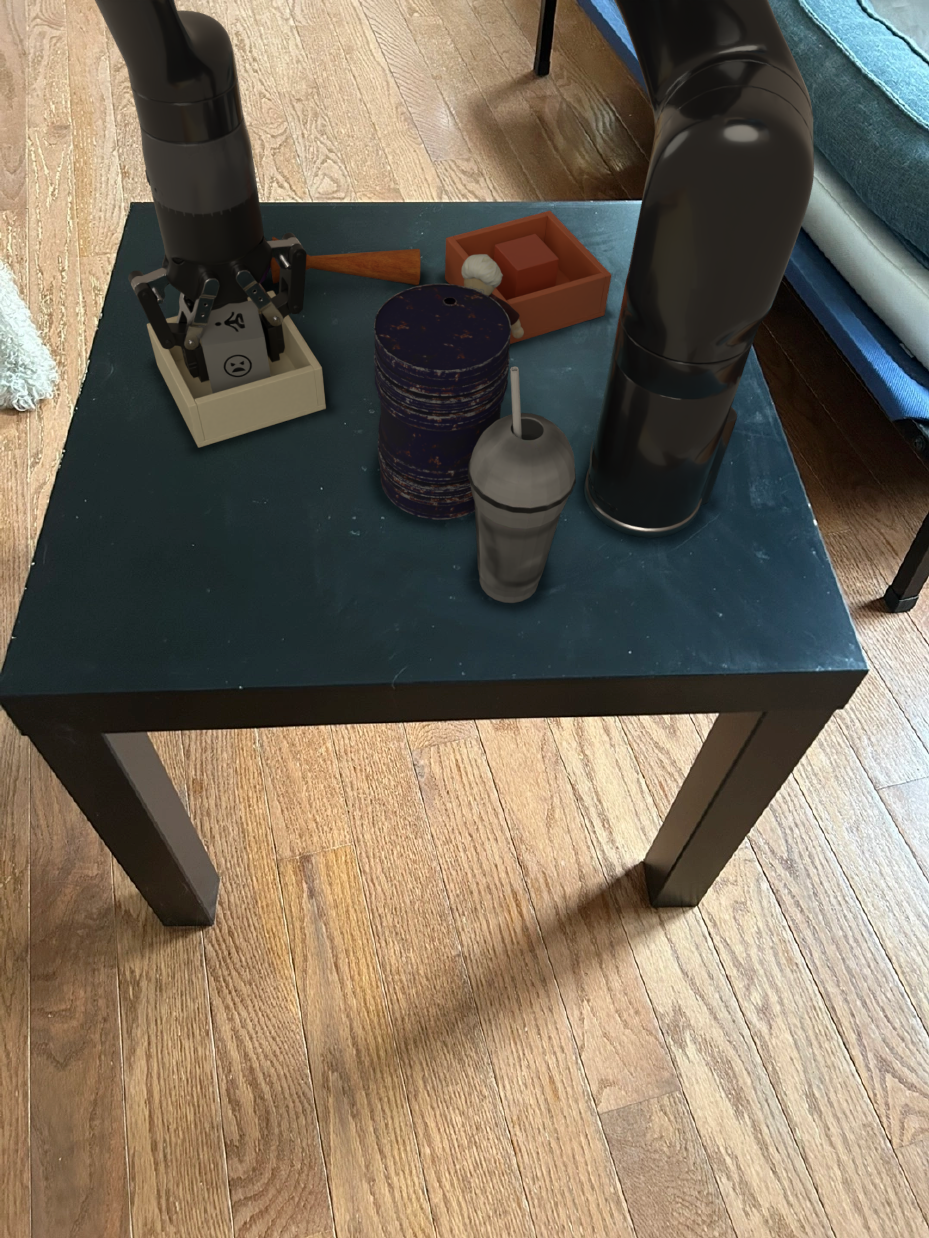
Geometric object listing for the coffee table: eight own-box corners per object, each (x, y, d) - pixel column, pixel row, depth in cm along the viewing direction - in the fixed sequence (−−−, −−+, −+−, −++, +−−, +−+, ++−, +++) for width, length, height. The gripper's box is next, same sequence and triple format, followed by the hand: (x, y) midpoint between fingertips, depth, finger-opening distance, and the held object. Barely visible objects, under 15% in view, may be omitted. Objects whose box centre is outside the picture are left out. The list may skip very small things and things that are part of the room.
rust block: (531, 273, 98) (535, 233, 94) (553, 299, 96) (559, 258, 92) (491, 285, 97) (494, 244, 93) (513, 311, 94) (517, 270, 91)
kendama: (423, 267, 92) (200, 257, 89) (417, 313, 97) (206, 304, 94) (419, 220, 94) (203, 208, 91) (414, 267, 100) (209, 257, 97)
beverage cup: (548, 626, 73) (586, 423, 57) (452, 607, 74) (462, 402, 58) (563, 552, 78) (601, 343, 61) (471, 535, 78) (485, 324, 62)
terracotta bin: (545, 251, 101) (550, 210, 97) (604, 315, 95) (612, 274, 92) (444, 278, 98) (445, 237, 94) (499, 347, 92) (503, 306, 88)
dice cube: (271, 385, 85) (264, 337, 81) (212, 394, 84) (202, 346, 80) (262, 348, 88) (255, 300, 84) (205, 356, 87) (194, 308, 83)
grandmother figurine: (431, 396, 88) (433, 270, 77) (431, 367, 90) (433, 241, 80) (518, 397, 88) (532, 273, 78) (516, 368, 90) (529, 243, 80)
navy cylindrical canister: (488, 529, 79) (501, 382, 67) (366, 511, 79) (357, 361, 67) (506, 442, 84) (521, 292, 72) (393, 425, 85) (389, 274, 73)
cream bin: (278, 332, 92) (272, 290, 88) (326, 408, 86) (322, 367, 82) (157, 365, 89) (146, 323, 85) (198, 448, 83) (188, 406, 79)
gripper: (118, 231, 68) (169, 417, 81) (316, 184, 72) (332, 369, 86) (89, 175, 72) (142, 362, 85) (278, 134, 76) (300, 319, 89)
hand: (237, 365), depth 85 cm, fingers open, 5 cm apart
